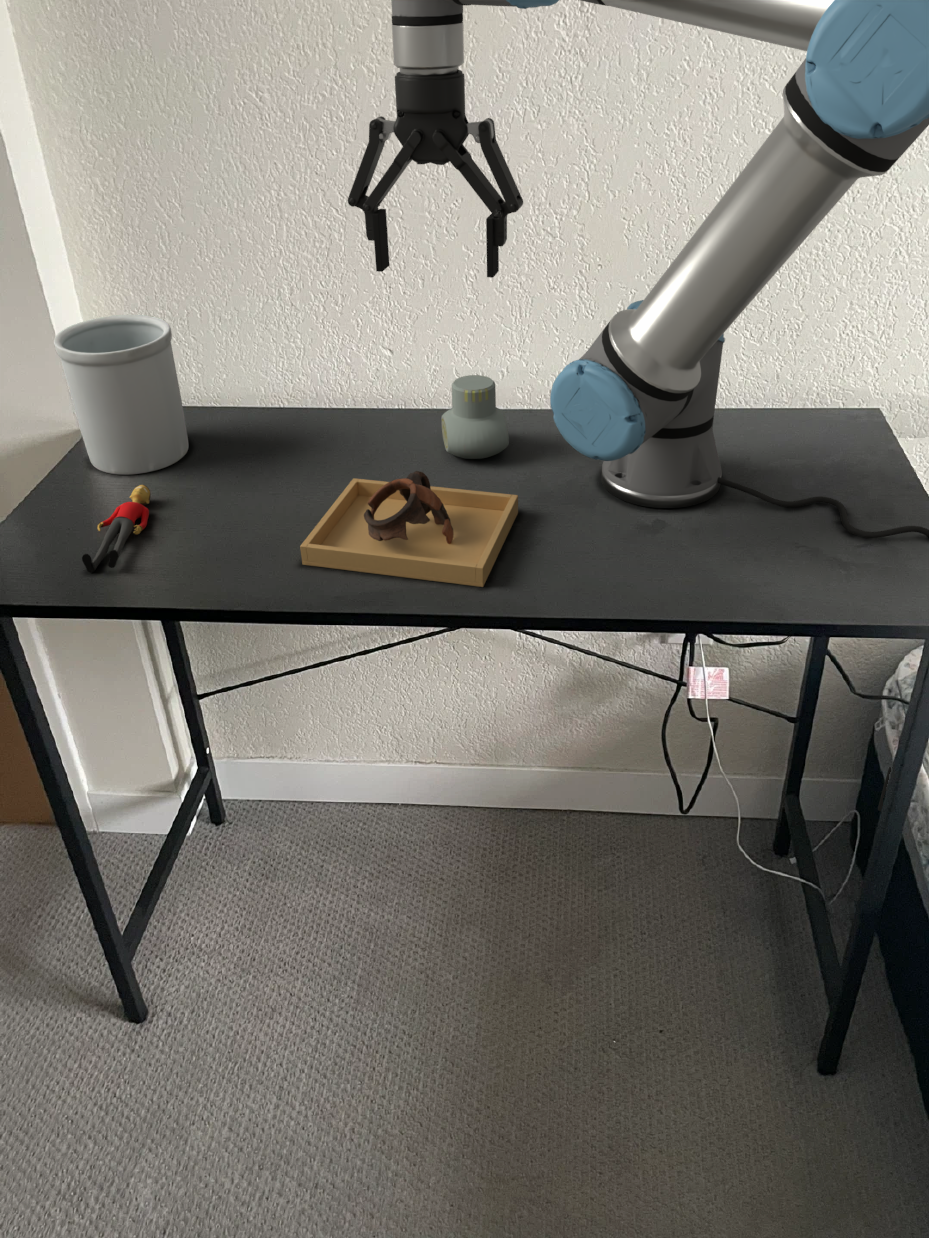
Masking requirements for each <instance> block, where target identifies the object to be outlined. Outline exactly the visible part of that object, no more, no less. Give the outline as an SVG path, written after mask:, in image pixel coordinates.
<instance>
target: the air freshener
mask: <svg viewBox="0 0 929 1238" xmlns="http://www.w3.org/2000/svg"><path fill="white" fill-rule="evenodd" d="M496 395H497V394H496V381H494V380H493V378H491V377H489V376H485V375H480V374H468V375H463V376H460V377H457V378H455V380H453V382H452V383H451V408H450V409H448V410H446V411H445V412H444V413H443V414H442V415H441V431H442V432H441V433H442V440H443V444H444V449H445V450H446V452H447V453H448V454H450V455H451V456H452V455H453V456H455V457H457V458H460V459H465V460H481V459H482V460H483V459H487V458H490V457H494V456H496V455H497V454H500V453H501V452H503V451H504V450H505V449H507V447H509V443H510V438H509V437H510V435H509V427H508V422H507V417H506V415H505V412H504V411H503V410H502V409H500V408H499V407H497V401H496V400H497V399H496V397H497V396H496Z"/></svg>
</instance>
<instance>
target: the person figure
mask: <svg viewBox="0 0 929 1238" xmlns="http://www.w3.org/2000/svg"><path fill="white" fill-rule="evenodd" d="M151 497H152V496H151V490H150V488H149V487H148V486H147V485H145V484H139V485H137V486H135V488H133V490H132V492H131V494H130V496H129V499H130V500H131V501H126V502H123V503H122V504H120V505H118V506H117V507H116V508H115V510H113V511H114V512H112V514H111V515H110V516H109V517H108V518H107V519H104V520H103V521H100V522H99V523H98V524H97V527H96V528H97V531H98V532H101V530H102V529H101V528H105V527H108V528H107V531H106V532H105V534H104V537H103V540H102V542H101V545H100V546H99V548H98V550H97V552H96V554H95V555H94V557H93V559H92V557H91V555H90V554H88V553H84V554H83V555H82V557H81V561H82V563H83V565H84V568H85V569H86V571H87V573H89V574H92V573H94V572H95V571H96V570H97V568H98V567H99V565H100V564H101V562H102V561H103V560H104V558H105V556H106V555H107V553H108V551H109V548H110V546H111V544H112V543H113V541H114V540H115V538H117V536H118V538H117V541H116V543H115V545H114V547H113V549H111V550H110V551H109V553H108V556H109V561H108V562H107V567H108V568H110V569H113V568H115V567H116V564H117V562H118V559H119V558H120V555H121V553H122V552H123V550H124V546H125V543H126V541H128V538H129V537H130V535H131V533H132V532H133V534H134V535H139V534H140V533H141V532H142V531H143V530H145V528H146V527H147V525H148V519H149V516H150V510H149V508H148V507H146V506H147V505H148V504H150V501H151ZM138 519H140V524H136V520H138ZM135 524H136V525H135ZM133 530H134V531H133Z"/></svg>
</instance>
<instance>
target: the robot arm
mask: <svg viewBox="0 0 929 1238" xmlns="http://www.w3.org/2000/svg"><path fill="white" fill-rule="evenodd" d="M559 1H560V0H390V3H391V34H392V35H391V36H392V53H393V55H392V57H393V65H394V66H395V67H396V68H397V69H399V71H398V72H396V74H395V75H394V93H395V108H396V109H395V110H396V118H395V120H390V119H389V120H388V119H386V118H385V117H384V116H380V115H379V116H378V117H376V118H374V119H372V120H370V121H369V124H368V142H367V145H366V148H365V150H364V154H363V156H362V158H361V162H360V164H359V166H358V170H357V172H356V176H355V179H354V181H353V184H352V186H351V190H350V191H349V195H348V197H347V203H348V205H349V206H350V207H352V208H353V207H355V208H358V209H360V210H362V212H363V214H364V222H365V223H364V224H365V232H366V233H365V236H366V238H367V240H368V241H371V242H372V241H373V244H374V245H373V246H374V257H375V258H374V260H375V271H376V272H378V273H379V272H380V273H382V272H384V271H385V270H387V268H388V267H390V251H389V236H388V235H389V234H388V220H387V219H388V218H387V209H386V208H379V207H380V206H381V204H382V202H383V201H384V200H385V198H386V197H387V195H388V194H389V192H390V191H391V190H392V188H393V187H394V186H395V184H396V183H397V181H398V180H399V179H400V177H401V176H402V174H403V173H404V171H405V170H406V169H407V167H408V166H409V165H410V164H411V162H412V161H413V162H415V163H416V164H417V165H427V164H433V165H437V166H445V165H446V164H448V163H450V164H451V165H452V166H453V168H454V169H455V170H457V171H458V172H459V173H460V174H461V175H462V177H463V178H464V180H465V181H466V182H467V183H468V185H469V186H470V187H471V188H472V190H473V191H474V193H475V194H476V195H477V197H478V198H479V199H480V201H482V203H483V204H484V205H485V207H486V208H487V209H488V210H489V212H490V214H489V215H488V216H487V217H486V218H485V228H486V229H485V231H486V232H485V233H486V235H485V236H486V278H492V279H493V278H494V277H495V276H496V275H497V274H498V273H499V271H500V270H499V269H500V268H499V267H500V263H499V262H500V259H499V258H500V257H499V256H500V255H499V253H500V252H499V248H500V247H504V246H505V244H506V243H507V240H508V215H509V214H513V213H517V212H518V211H519V210H520V209H521V208H522V207H523V205H524V199H523V197H522V195H521V192H520V190H519V188H518V185H517V183H516V181H515V179H514V177H513V175H512V173H511V170H510V167H509V165H508V164H507V161H506V159H505V156H504V155H503V152H502V150H501V147H500V145H499V143H498V141H497V135H496V127H495V121H494V120H493V119H492V118H491V117H487V118H485V119H484V120H480V121H471V122H469V121H468V119H467V116H466V115H467V114H466V85H465V83H466V82H465V81H466V79H465V78H466V77H465V73H464V72H463V70H461V69H459V67H460V66H462V65H463V64H464V63H465V47H464V46H465V43H464V41H465V40H464V39H465V38H464V6H487V7H489V6H490V7H515V8H518V9H521V10H526V9H533V8H534V9H535V8H539V7H550V6H554V5H555V4H557V3H559ZM579 1H581V2H585V3H590V4H594V5H599V6H606V7H612V8H617V9H620V10H625V11H630V12H633V13H639V14H643V15H647V16H651V17H655V18H659V19H663V20H668V21H673V22H678V23H682V24H686V25H690V26H694V27H698V28H704V29H707V30H712V31H716V32H720V33H724V34H729V35H734V36H738V37H743V38H747V39H751V40H754V41H755V40H756V41H760V42H764V43H769V44H772V45H777V46H782V47H786V48H791V49H795V50H799V51H803V52H806V55H805V58H804V59H803V61H802V62H801V63H800V65H799V67H798V68H797V69H796V71H795V72H794V73H793V74H792V76H791V78H790V79H789V81H787V82H786V84H785V86H784V87H783V89H782V102H783V117H782V118H781V119H780V121H779V122H778V124H777V125H776V126H775V127H774V129H773V130H772V131H771V132H770V134H769V135H768V137H767V138H766V139H765V140H764V142H763V143H762V144H761V146H760V147H759V148H758V150H757V151H756V152H755V153H754V155H753V156H752V157H751V158H750V160H749V162H748V163H747V164H746V165H745V166H744V168H743V170H742V171H740V173H739V175H738V176H737V177H736V178H735V179H734V181H733V182H732V183H731V185H730V186H729V188H728V189H727V190H726V192H725V193H724V194H723V195H722V197H721V198H720V199H719V201H718V202H717V203H716V205H715V206H714V207H713V209H712V210H711V211H710V213H709V214H708V215H707V217H706V218H705V219H704V221H703V222H702V223H701V225H699V227H698V228H697V229H696V231H695V232H694V234H693V235H692V236H691V237H690V238H689V240H688V241H687V243H686V244H685V246H684V247H683V248H682V249H681V251H680V252H679V253H678V255H677V256H676V257H675V259H674V260H673V261H672V262H671V264H670V265H669V266H668V268H667V269H666V270H665V271H664V273H663V274H662V275H661V277H660V278H659V280H658V281H657V282H656V283H655V284H654V286H653V287H652V289H651V290H649V292H648V294H647V295H646V297H645V298H644V299H641V300H637V301H634V302H632V303H630V304H629V305H628V306H627V308H626V309H622V310H619V311H618V312H616V313H615V314H614V315H613V316H612V317H611V319H610V320H609V321H608V323H607V324H606V325H605V327H604V328H603V329H602V330H601V332H600V333H599V335H598V336H597V337H596V338H595V340H594V341H593V342H592V344H591V345H590V346H589V348H588V349H587V351H585V353H584V354H583V355H582V356H581V357H580V358H578V359H575V360H573V361H572V362H571V361H570V362H569V363H568V364H566V365H565V366H564V368H563V369H562V370H561V371H560V372H559V373H558V374H557V376H556V378H555V379H554V381H553V383H552V386H551V390H550V396H549V397H550V399H549V404H550V409H551V410H552V413H553V416H552V418H553V421H554V424H555V426H556V428H557V430H558V432H559V433H560V435H561V436H562V438H563V439H564V440H565V441H566V443H568V445H569V446H570V447H572V448H573V449H575V451H577V452H578V453H579V454H581V455H582V456H585V457H587V458H589V459H592V460H596V461H598V460H599V461H602V464H601V475H600V476H601V477H600V479H601V480H600V481H601V484H602V486H603V488H604V489H605V490H606V491H607V492H608V493H610V494H611V495H612V496H613V497H615V498H617V499H620V500H621V501H624V502H626V503H629V504H633V505H637V506H641V507H646V508H655V509H680V508H687V507H691V506H696V505H699V504H702V503H705V502H707V501H709V500H710V499H711V498H713V497H715V496H716V495H717V493H718V492H719V490H720V488H721V485H723V486H725V487H728V488H731V489H734V490H737V491H739V492H743V493H745V494H748V495H751V496H753V497H755V498H758V499H759V500H761V501H764V502H766V503H769V504H771V505H774V506H778V507H782V508H783V507H784V508H798V507H803V506H804V507H805V506H807V505H812V504H817V503H823V504H828V505H831V506H833V507H835V508H836V509H838V511H839V515H840V521H841V524H842V526H843V528H844V529H846V531H847V532H848V533H850V534H852V535H854V536H856V537H860V538H866V539H879V538H886V537H891V536H896V535H900V534H907V533H919V534H920V535H921V534H922V535H924V536H925V537H927V538H928V539H929V528H927V527H923V526H921V525H904V526H898V527H894V528H890V529H889V528H888V529H884V530H877V531H876V530H875V531H870V530H869V531H868V530H863V529H859V528H857V527H855V526H853V525H852V524H851V523H850V521H849V518H848V512H847V509H846V507H845V506H844V505H845V504H843V503H842V502H841V501H839V500H837V499H835V498H832V497H829V496H821V495H820V496H812V497H806V498H803V499H799V500H782V499H778V498H775V497H772V496H770V495H768V494H765V493H763V492H761V491H759V490H757V489H754V488H751V487H748V486H746V485H743V484H740V483H739V482H734V481H732V480H730V479H729V480H728V479H726V478H723V477H722V475H723V472H722V466H721V461H720V457H719V453H718V448H717V444H716V439H715V435H714V429H713V428H714V427H713V426H714V420H715V419H714V417H715V411H716V403H717V395H718V387H719V378H720V371H721V363H722V356H723V347H724V343H725V342H726V338H725V337H724V336H725V332H726V331H727V330H728V329H729V328H730V327H731V326H732V324H733V323H734V322H735V321H736V320H737V318H738V317H739V316H740V315H741V314H742V313H743V312H744V310H745V309H746V308H747V307H748V306H749V304H750V303H751V302H752V301H753V300H754V299H755V298H756V297H757V295H758V294H759V293H760V292H761V291H762V290H763V289H764V288H765V286H766V285H767V284H768V283H769V281H771V279H772V278H773V277H774V276H775V275H776V274H777V272H778V271H779V270H780V269H781V268H782V267H783V265H784V264H786V262H787V261H788V260H789V259H790V257H792V255H793V254H794V253H795V252H796V251H797V250H798V249H799V247H800V246H801V245H802V244H803V243H804V241H806V239H807V238H808V237H809V236H810V235H811V234H812V232H813V231H814V230H815V229H816V228H817V227H818V225H820V223H821V222H822V221H823V220H824V219H825V217H826V216H827V215H828V214H829V213H830V212H831V210H832V209H833V208H834V207H835V206H836V205H837V204H838V202H839V201H840V200H841V199H842V198H843V196H845V194H846V193H847V192H848V191H849V190H850V188H851V187H852V186H853V185H854V184H855V183H856V182H857V181H858V179H861V178H870V177H877V176H882V175H885V174H886V173H888V171H890V169H891V168H892V167H893V166H894V165H895V164H896V162H897V161H899V159H900V158H901V157H902V156H903V155H904V153H905V152H906V151H907V150H909V148H910V147H911V146H912V145H913V144H914V142H915V141H916V140H917V139H918V138H919V137H920V136H921V134H923V132H924V131H925V130H926V129H927V128H928V127H929V0H579ZM393 133H394V136H395V137H396V139H397V141H398V142H399V143H400V144H401V146H402V147H401V148H400V150H399V151H398V153H397V155H396V156H395V157H394V158H393V161H392V162H391V164H390V166H389V167H388V168H387V170H386V171H385V172H384V174H383V175H382V177H381V179H380V180H379V181H378V183H377V184H376V186H375V187H374V188H373V190H372V191H371V193H370V194H369V195H367V193H368V190H369V187H370V185H371V182H372V179H373V176H374V174H375V171H376V168H377V166H378V163H379V161H380V158H381V155H382V153H383V150H384V147H385V145H386V141H389V140H390V139H391V136H392V134H393ZM469 135H471V136H472V137H473V139H474V141H475V142H476V143H477V144H480V149H481V151H482V154H483V156H484V159H485V160H486V163H487V165H488V167H489V169H490V171H491V173H492V177H493V178H494V180H495V182H496V184H497V187H498V189H499V191H500V193H501V195H502V196H501V195H500V193H499V192H498V191H497V190H496V188H495V187H494V185H493V184H492V182H490V180H489V179H488V178H487V176H486V175H485V173H483V171H482V170H481V169H480V167H479V166H478V164H477V163H476V161H474V159H473V157H472V154H471V153H470V152H469V151H468V149H467V148H466V146H465V145H464V143H465V142H466V140H467V139H468V137H469ZM890 772H891V766H889V767H888V770H887V773H886V776H885V780H884V782H883V783H884V784H883V787H882V790H881V796H880V798H879V801H878V802H879V803H878V806H877V811H879V812H882V811H881V809H882V806H883V798H884V795H885V791H886V787H887V784H888V780H889V774H890Z"/></svg>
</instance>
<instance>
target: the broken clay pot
mask: <svg viewBox="0 0 929 1238" xmlns="http://www.w3.org/2000/svg"><path fill="white" fill-rule="evenodd" d="M387 482H388V483H387V484H385V485H384V486H382V487H381V488H380V489H378V490H377V492H375V493H374V494H373V496H372V497H371V498H370V499H369V501H368V505H369V506H370V507H371V511H370V510H369V509H367V510H366V512H365V513H364V519H365V521H366V522H367V523H368V531H369V532H368V533H369V535H370V537H372V538H373V539H375V540H378V541H382V540H391V539H393V538H401V539H404V540H408V538H407V535H406V522H409V523H411V524H426V523H427V522H429V521H430V519H429V518H428V517H427V515H426V514H427V513H429V512H430V511H431V512H432V515H433V517H434V521H435V523H436V524H442V525H444V527H443V530H442V533H443V535H444V536H446V541H447V543H448V544H450V543H451V542H452V540H453V535H454V532H453V528H452V526H451V522H450V518H449V516H448V514H447V511H446V509H445V507H444V505H443V503H442V502H441V500H440V498H439V497H437V495H436V494H435V493H434V492H433V491H432V490H431V487H430V486H431V482H430V479H429V477H428V476H427V475H426V474H425V473H424V472H423V471H419V470H415V471H414V472H410V473H408V474H407V476H406V478H396V479H394V480H391V481H387ZM397 490H399V491H400V494H401V495H402V496H403V497H404V499H405V500H406V501H407V503H406V504H405V505H404V506H403V508H402V509H401V510H400V511H399V512H397V513H396V514H395V515H393V516H391V517H389V518H387V519H384V520H374V514H375V512H376V510H377V509H378V507H379V506H380V504H381V503H382V502H383V501H384V500H386V499H387V498H388V497H389V496H390V495H392V494H394V493H395V492H396V491H397Z"/></svg>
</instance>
